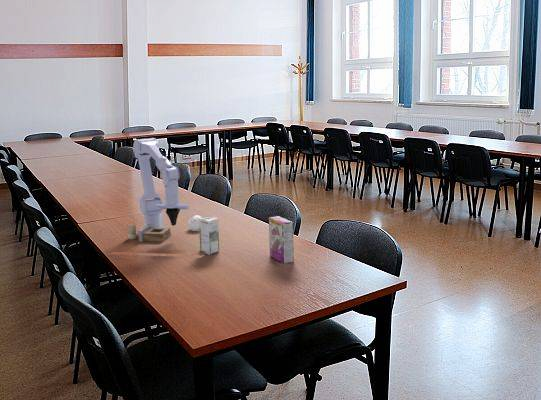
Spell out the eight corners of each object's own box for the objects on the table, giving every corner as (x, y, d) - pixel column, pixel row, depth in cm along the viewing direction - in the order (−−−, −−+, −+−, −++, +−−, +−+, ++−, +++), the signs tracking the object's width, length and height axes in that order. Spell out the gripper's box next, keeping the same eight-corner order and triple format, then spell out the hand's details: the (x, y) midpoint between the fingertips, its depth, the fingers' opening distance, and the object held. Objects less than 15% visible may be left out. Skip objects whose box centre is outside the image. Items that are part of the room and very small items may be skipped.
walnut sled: (151, 234, 255) (151, 227, 254) (170, 235, 253) (170, 228, 252) (143, 241, 245) (142, 233, 244) (162, 241, 244) (162, 233, 243)
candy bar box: (269, 256, 223) (268, 217, 220) (279, 254, 226) (278, 215, 222) (283, 264, 214) (282, 223, 210) (294, 262, 216) (293, 221, 213)
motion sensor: (186, 233, 259) (185, 217, 258) (191, 229, 267) (190, 213, 265) (202, 234, 258) (202, 218, 256) (207, 229, 265) (206, 214, 264)
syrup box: (209, 249, 235) (208, 216, 232) (220, 251, 231) (218, 218, 228) (200, 252, 231) (198, 218, 227) (210, 255, 227) (208, 220, 224)
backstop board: (147, 236, 256) (146, 224, 255) (190, 237, 252) (189, 225, 251) (137, 243, 245) (136, 230, 244) (182, 245, 242) (181, 231, 240)
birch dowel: (130, 239, 252) (129, 224, 251) (137, 239, 252) (136, 224, 250) (127, 241, 249) (125, 226, 247) (134, 241, 248) (133, 226, 247)
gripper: (152, 196, 241) (154, 226, 244) (184, 197, 238) (186, 227, 241) (158, 193, 248) (160, 222, 250) (190, 193, 245) (191, 223, 248)
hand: (173, 224), depth 246 cm, fingers closed
